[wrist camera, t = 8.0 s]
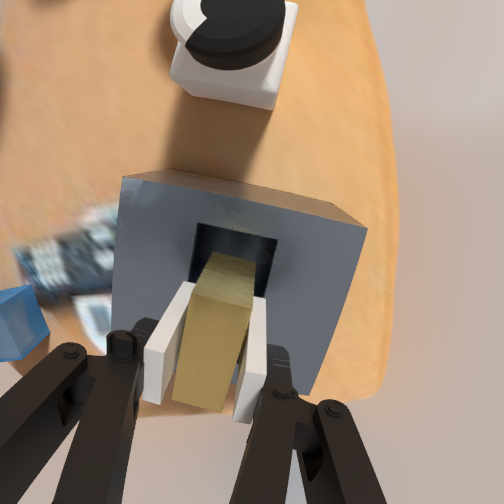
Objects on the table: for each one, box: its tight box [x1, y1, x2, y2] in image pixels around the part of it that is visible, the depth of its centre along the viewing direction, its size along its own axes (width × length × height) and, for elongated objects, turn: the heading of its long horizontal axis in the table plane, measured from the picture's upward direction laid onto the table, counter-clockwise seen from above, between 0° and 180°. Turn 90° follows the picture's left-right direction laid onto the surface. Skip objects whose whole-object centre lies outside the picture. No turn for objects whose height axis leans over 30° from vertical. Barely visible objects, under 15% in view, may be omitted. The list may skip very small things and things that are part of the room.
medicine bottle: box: [169, 0, 298, 110], centre depth 18 cm, size 7×7×12 cm
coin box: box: [111, 169, 368, 396], centre depth 24 cm, size 14×12×10 cm
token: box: [171, 251, 256, 412], centre depth 16 cm, size 2×6×6 cm, turn 165°
